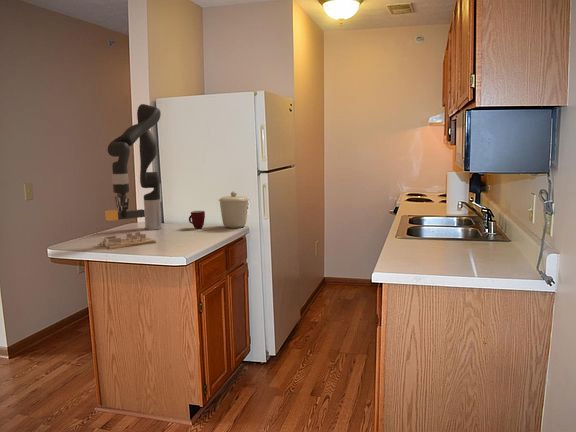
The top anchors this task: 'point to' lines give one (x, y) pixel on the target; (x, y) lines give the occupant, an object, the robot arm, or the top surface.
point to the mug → (197, 219)
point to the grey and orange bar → (118, 215)
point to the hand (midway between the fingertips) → (122, 217)
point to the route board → (126, 241)
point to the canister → (234, 210)
